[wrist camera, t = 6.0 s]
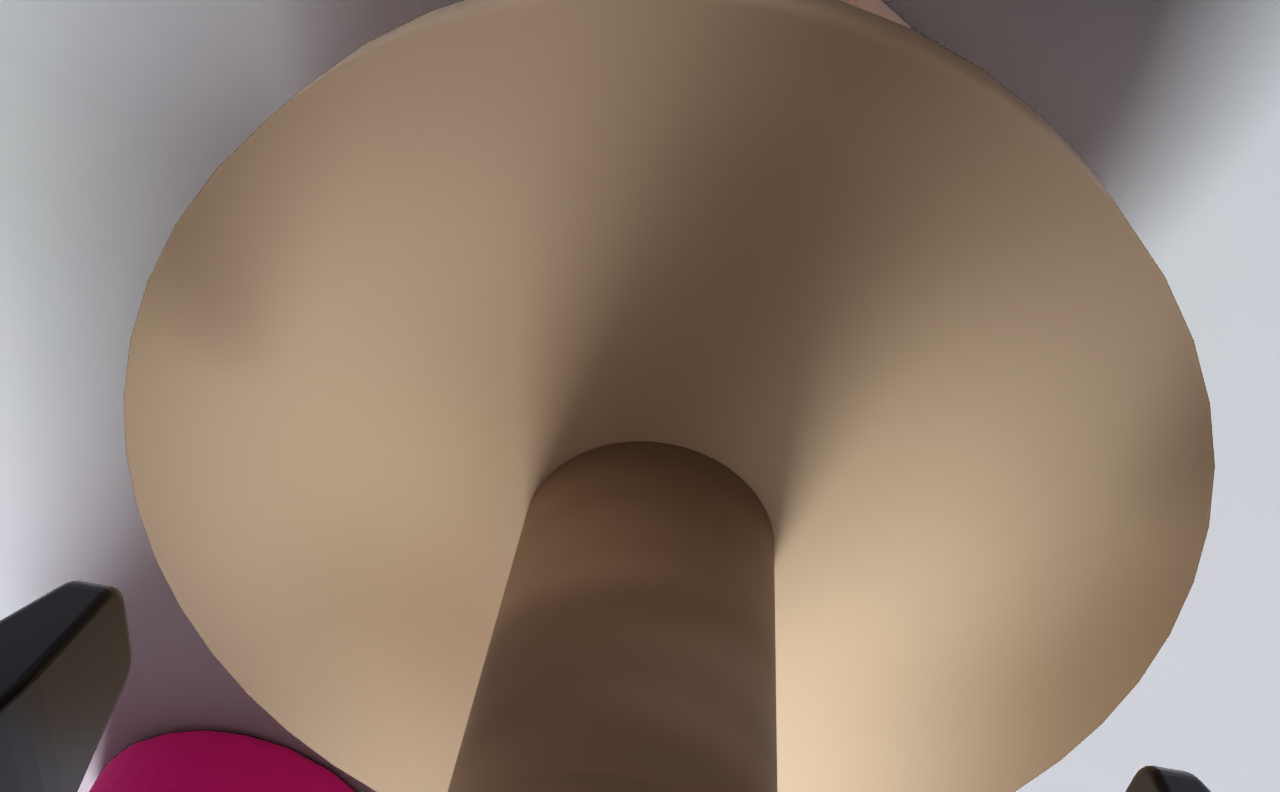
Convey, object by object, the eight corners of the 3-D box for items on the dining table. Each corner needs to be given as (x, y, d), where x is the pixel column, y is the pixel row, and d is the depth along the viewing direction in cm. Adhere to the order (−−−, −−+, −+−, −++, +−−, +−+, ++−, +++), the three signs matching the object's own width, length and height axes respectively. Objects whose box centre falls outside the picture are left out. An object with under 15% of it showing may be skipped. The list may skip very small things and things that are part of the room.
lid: (1390, 89, 10) (1878, 404, 5) (988, 868, 16) (1072, 1310, 11) (116, -132, 10) (-388, 12, 5) (200, 732, 16) (-8, 1122, 11)
